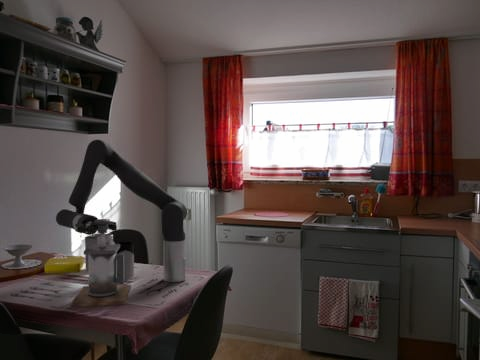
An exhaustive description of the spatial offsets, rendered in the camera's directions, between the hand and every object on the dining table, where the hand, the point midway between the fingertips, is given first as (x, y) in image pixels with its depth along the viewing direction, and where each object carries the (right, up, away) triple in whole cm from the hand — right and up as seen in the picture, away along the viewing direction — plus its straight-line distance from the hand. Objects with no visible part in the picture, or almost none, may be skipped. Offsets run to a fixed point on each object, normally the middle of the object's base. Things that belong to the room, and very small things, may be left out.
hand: (104, 229), depth 149 cm
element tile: (-32, -24, +41) cm, 57 cm away
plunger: (-1, -8, +2) cm, 8 cm away
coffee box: (-17, -24, +40) cm, 49 cm away
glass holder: (-1, -24, +30) cm, 39 cm away
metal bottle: (-5, -25, +20) cm, 33 cm away
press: (0, -24, +3) cm, 24 cm away
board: (-2, -26, +3) cm, 26 cm away
